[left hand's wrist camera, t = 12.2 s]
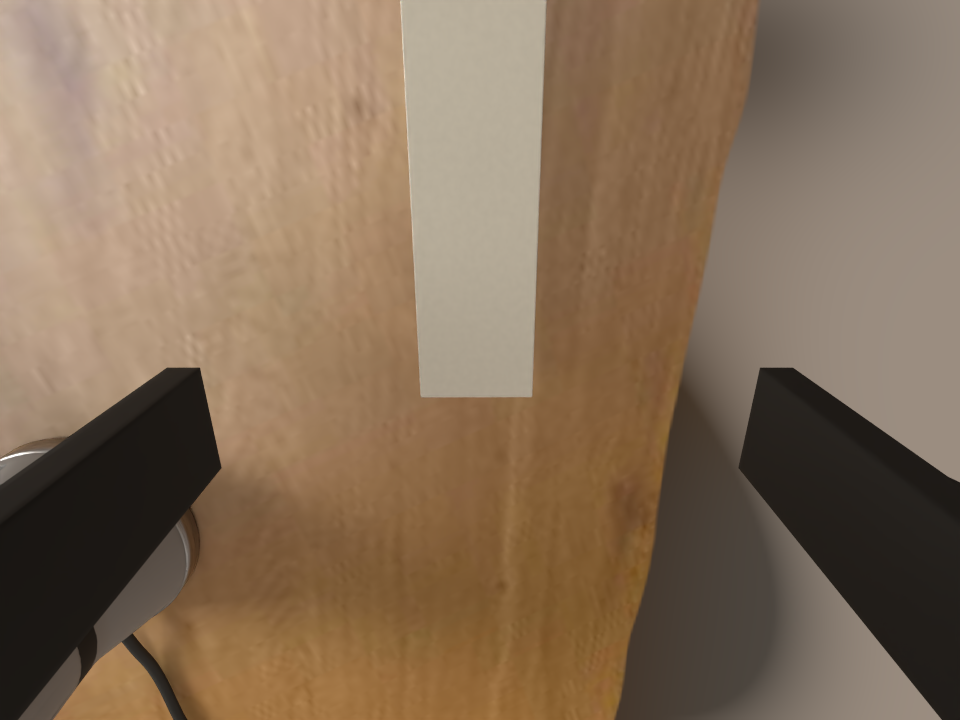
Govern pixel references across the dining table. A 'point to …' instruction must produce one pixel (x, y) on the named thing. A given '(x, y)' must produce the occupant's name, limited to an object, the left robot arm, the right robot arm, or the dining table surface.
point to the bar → (474, 189)
